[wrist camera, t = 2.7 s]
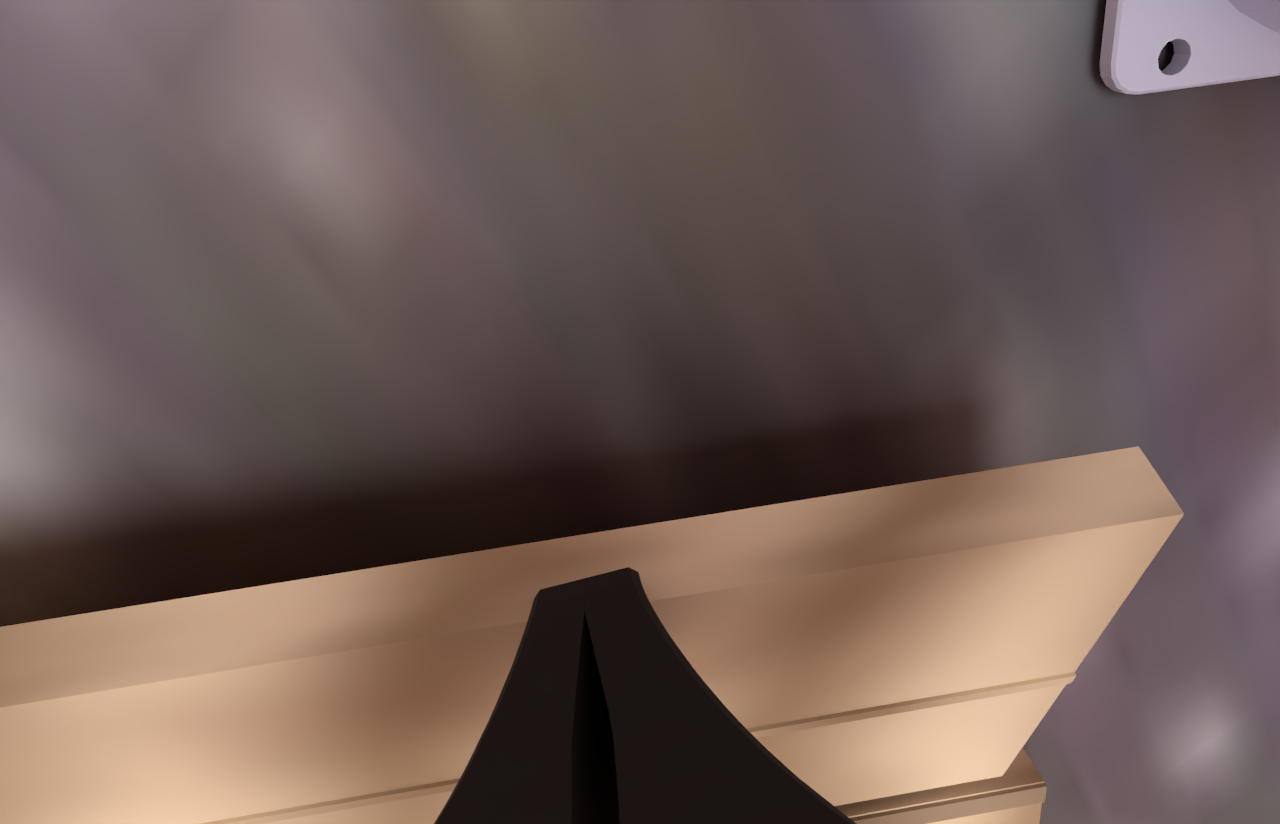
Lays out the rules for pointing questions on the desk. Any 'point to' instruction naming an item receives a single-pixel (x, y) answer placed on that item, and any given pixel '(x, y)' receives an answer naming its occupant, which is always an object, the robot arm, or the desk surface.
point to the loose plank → (684, 602)
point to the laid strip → (962, 801)
